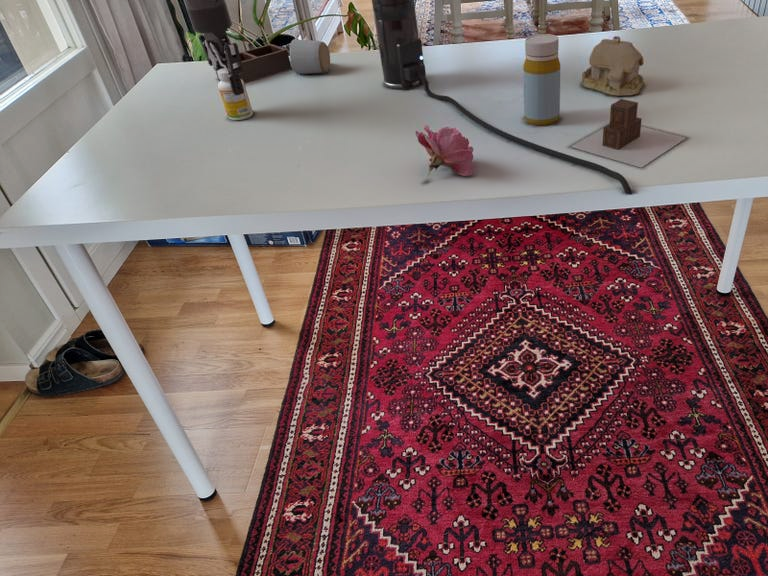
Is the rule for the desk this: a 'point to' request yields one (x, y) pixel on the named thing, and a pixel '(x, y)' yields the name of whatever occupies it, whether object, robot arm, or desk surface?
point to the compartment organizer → (263, 62)
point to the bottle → (541, 79)
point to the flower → (447, 149)
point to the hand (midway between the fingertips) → (232, 90)
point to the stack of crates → (628, 137)
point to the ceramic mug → (309, 56)
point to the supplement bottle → (233, 98)
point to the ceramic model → (614, 68)
